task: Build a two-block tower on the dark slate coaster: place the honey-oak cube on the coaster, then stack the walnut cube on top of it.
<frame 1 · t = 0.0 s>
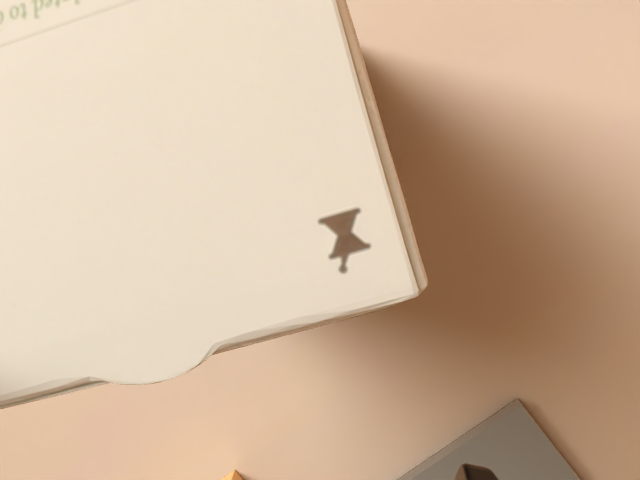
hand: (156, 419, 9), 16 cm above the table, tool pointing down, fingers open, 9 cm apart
skincare box: (266, 153, 24), on the table, touching gripper
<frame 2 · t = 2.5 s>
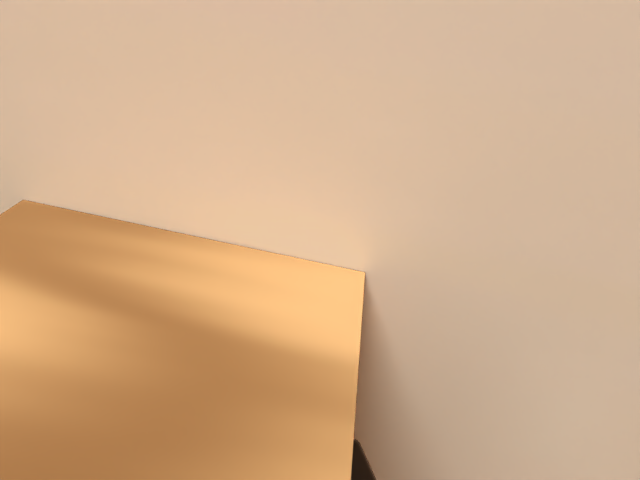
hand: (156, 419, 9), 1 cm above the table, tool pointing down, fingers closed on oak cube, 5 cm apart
oak cube: (178, 374, 10), on the table, touching gripper
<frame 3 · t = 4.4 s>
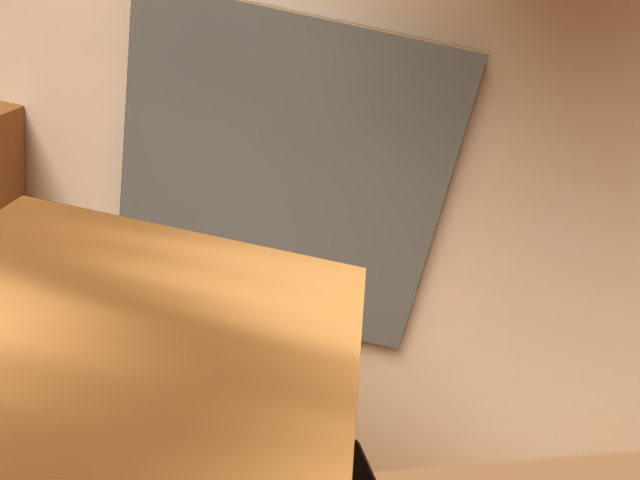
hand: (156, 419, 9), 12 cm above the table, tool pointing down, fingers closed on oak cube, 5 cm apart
oak cube: (179, 371, 10), point 10 cm above the table, touching gripper
slate coaster: (283, 178, 19), on the table
when the fingers open (3 cm above the table, at t = 6.3 s): oak cube drops 1 cm, resting on slate coaster.
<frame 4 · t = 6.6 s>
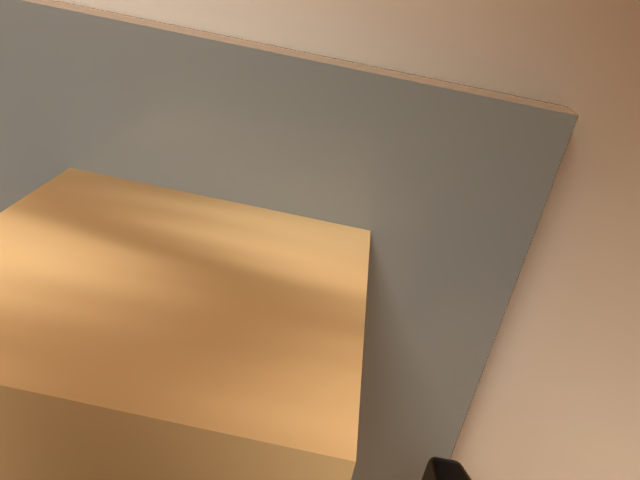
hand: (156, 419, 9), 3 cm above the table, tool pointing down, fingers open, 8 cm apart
oak cube: (204, 326, 11), point 1 cm above the table, touching slate coaster
slate coaster: (213, 311, 11), on the table
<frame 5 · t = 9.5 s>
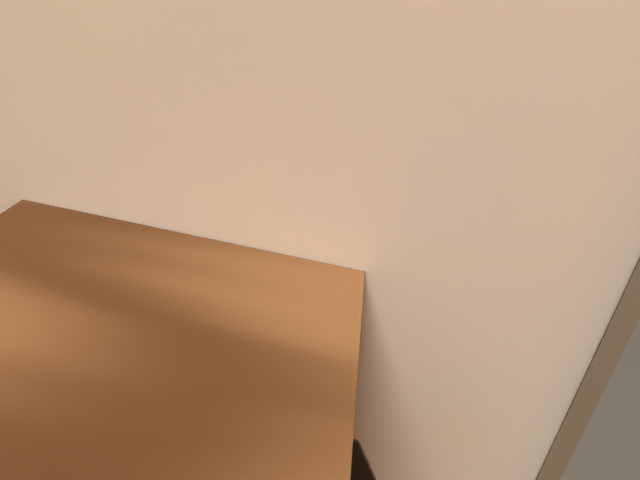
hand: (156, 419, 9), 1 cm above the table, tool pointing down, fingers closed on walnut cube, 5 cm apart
walnut cube: (178, 374, 10), on the table, touching gripper
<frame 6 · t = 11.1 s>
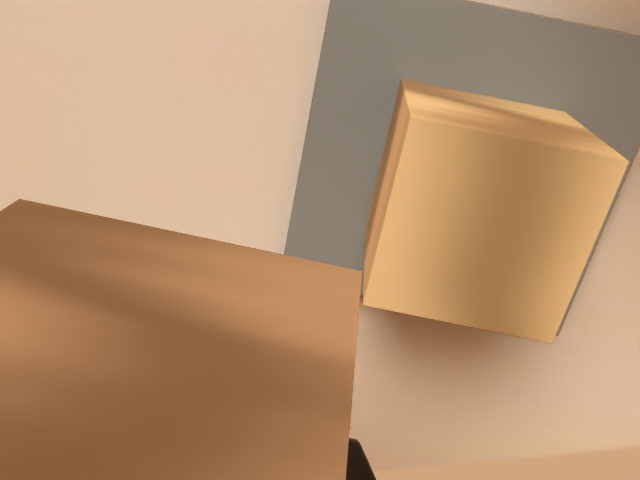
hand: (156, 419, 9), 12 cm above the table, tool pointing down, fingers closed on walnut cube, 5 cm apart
oak cube: (459, 173, 19), point 1 cm above the table, touching slate coaster
slate coaster: (456, 169, 20), on the table
walnut cube: (176, 373, 10), point 11 cm above the table, touching gripper
when the fingers open (8 cm above the table, at t = 12.8 s): walnut cube drops 1 cm, resting on oak cube.
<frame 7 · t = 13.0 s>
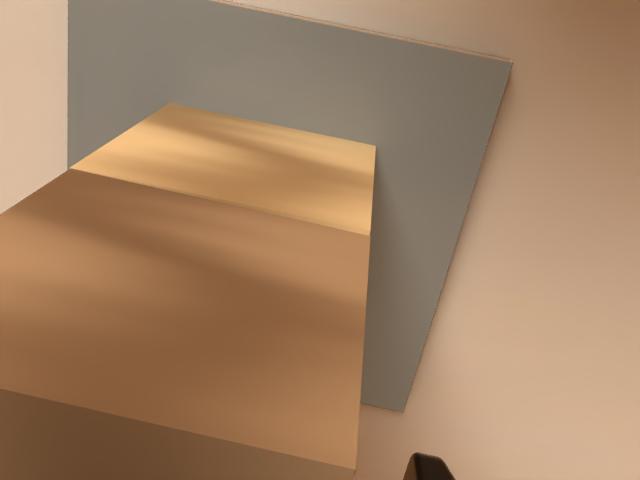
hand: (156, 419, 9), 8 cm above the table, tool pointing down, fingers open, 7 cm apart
oak cube: (258, 219, 15), point 1 cm above the table, touching slate coaster, walnut cube
slate coaster: (262, 212, 16), on the table
walnut cube: (203, 328, 11), point 6 cm above the table, touching oak cube
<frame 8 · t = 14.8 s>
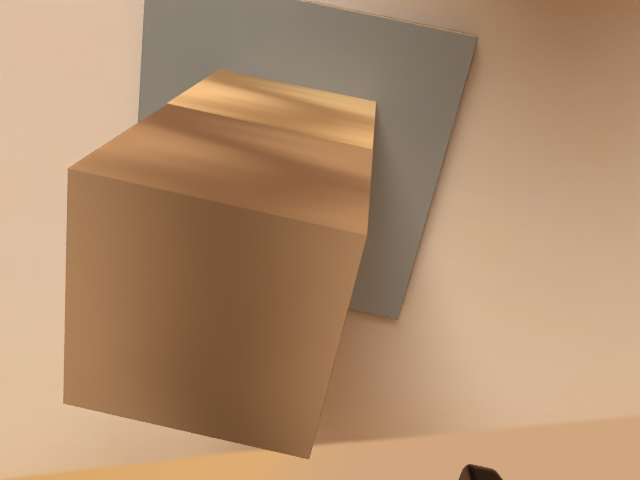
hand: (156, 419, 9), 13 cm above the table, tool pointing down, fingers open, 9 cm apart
oak cube: (285, 160, 20), point 1 cm above the table, touching slate coaster, walnut cube
slate coaster: (287, 157, 21), on the table
walnut cube: (254, 220, 15), point 6 cm above the table, touching oak cube
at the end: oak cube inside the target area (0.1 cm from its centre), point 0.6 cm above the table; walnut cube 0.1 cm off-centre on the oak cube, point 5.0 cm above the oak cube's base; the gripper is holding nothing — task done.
